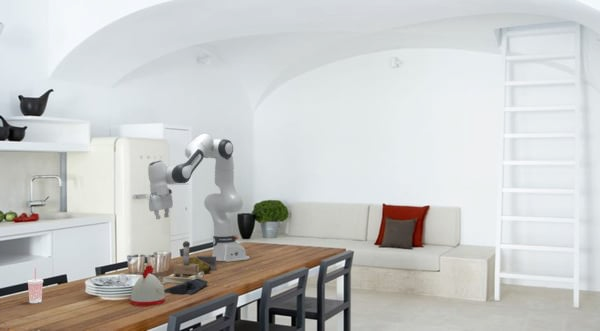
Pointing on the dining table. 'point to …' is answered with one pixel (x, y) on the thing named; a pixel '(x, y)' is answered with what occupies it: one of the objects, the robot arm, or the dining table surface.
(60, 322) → the dining table surface
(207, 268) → the olive green rounded lump
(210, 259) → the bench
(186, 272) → the wooden knobbed block
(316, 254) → the dining table surface
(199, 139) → the robot arm
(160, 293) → the grey and red dome
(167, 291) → the dark slate chunk
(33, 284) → the beverage cup
